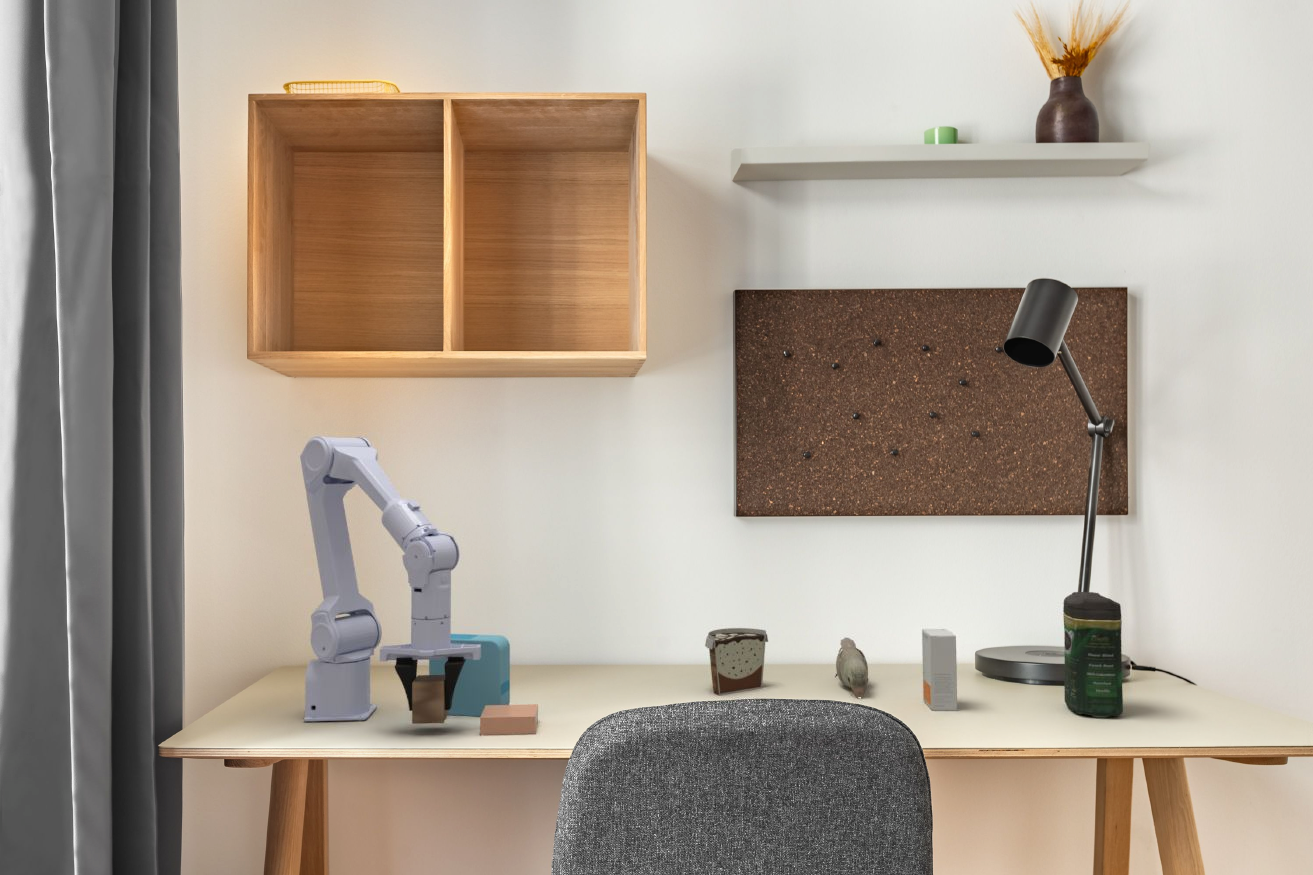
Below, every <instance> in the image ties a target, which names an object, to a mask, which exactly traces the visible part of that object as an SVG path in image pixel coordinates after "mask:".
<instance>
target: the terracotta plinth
mask: <svg viewBox="0 0 1313 875" xmlns="http://www.w3.org/2000/svg"><path fill="white" fill-rule="evenodd" d="M538 722H539V704H537V703H536V704H533V703H532V704H531V703H530V704H529V703H527V704H509V705H486V706H485V708H484V710H483V712H482V715H481V717H479V735H480V736H498V735H499V736H500V735H533V734H534V735H535V734H536V731H537V727H538Z"/></svg>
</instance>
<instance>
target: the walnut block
mask: <svg viewBox="0 0 1313 875" xmlns="http://www.w3.org/2000/svg"><path fill="white" fill-rule="evenodd" d="M445 691H446V684H445V675H429V674H423V675H422V674H419V675H418V674H417V677H416V678H415V680H414V681H413V682H412V711H411V724H413V725H414V724H415V725H417V724H418V725H421V724H422V725H423V724H444V723H445V722H446V720H447V718H448V716H449V715H448V710H445Z"/></svg>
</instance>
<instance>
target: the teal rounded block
mask: <svg viewBox="0 0 1313 875" xmlns="http://www.w3.org/2000/svg"><path fill="white" fill-rule="evenodd" d="M451 643H456V644H481V658H480V659H479V660H472V659H466V661H465V663H464V665H463V668H462V670H461V672H460V675H459V677H458V680H457V683H456V686H455V690H454V694H453V699H452V707H451V709H450V710H448V716H461V717H463V716H464V717H478V718H480V717H481V715H482V712H483V710H484V708H485V706H486V705H510V701H511V697H510V696H511V683H510V680H511V668H510V667H511V657H510V656H511V654H510V653H511V652H510V651H511V649H510V648H511V646H510V645H511V644H510V642H509V640H508V638H507V637H505V636H504V635H498V634H497V635H496V634H465V633H464V634H463V633H451ZM447 661H448V659H436V660H428V669H429V670H428V675H445V667H444V664H445V663H446V662H447Z"/></svg>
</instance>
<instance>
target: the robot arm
mask: <svg viewBox="0 0 1313 875" xmlns="http://www.w3.org/2000/svg"><path fill="white" fill-rule="evenodd" d="M378 454H379V453H378V451H377V449H376V448H374V447H373V445H372V442H370V441H369V440H368V439H367V438H365V437H362V436H357V437H335V436H334V437H331V436H323V435H315V436H313V437H310V439H309V440H308V441H307V443H306V444H305V446H304V448H303V450H302V452H301V454H300V456H299V458H300V464H301V469H302V470H301V471H302V476H303V477H302V478H303V483H304V488H305V491H306V492H305V494H306V501H307V507H308V514H309V519H310V525H311V530H312V537H313V543H314V550H315V554H316V561H317V567H318V572H319V579H320V585H321V590H322V597H323V601H322V602H321V603H320V604H319V605H318V606H317V608H315V610H314V611H313V612H312V613H311V615H310V619H311V633H310V646H311V649H312V651H313V653H314V654H315V656H316V657H318V658H314V659H311V660H310V661H309V662H308V664H307V666H306V672H305V681H304V684H305V685H304V686H305V687H304V690H305V692H304V698H305V699H304V702H305V703H304V704H305V705H304V718H303V721H304V722H325V721H326V722H328V721H331V722H332V721H336V722H337V721H365V720H367V719H368V718H369V717H370V716H371V715H372V713H373V712H374V711H375V710H376V709H377V708H378V704H375V703H373V704H372V703H371V657H372V656H374V655H375V649H377V647H378V646H379V645H380V643H381V639H382V634H383V630H382V625H381V622H380V620H379V618H378V617H377V615H376V612H375V609H374V604H373V602H372V601H371V600H369V599H368V598H366V597H365V596H363V594H361V593H360V591H359V584H358V580H357V574H356V569H355V563H354V562H355V560H354V556H353V550H352V544H351V538H350V532H349V526H348V521H347V515H346V510H345V505H344V498H345V496H346V494H347V493H348V491H350V490H352V489H353V488H354V487H355V486H356V485H357V486H358V487H359V488H360V489H361V490H362V491H363V492H364V493H365V495H367V496H368V497H369V499H371V501H372V502H373V503H374V504H375V505H376V506H377V507H378V508H379V509H380V511H381V512H382V516H381V524H382V526H383V527H384V528H385V530H387V532H388V533H389V535H390V536H391V537H392V538H393V540H394V541H395V542H396V544H397V545H398V546H399V547H400V549H401V550H402V551H403V553H404V554H402V556H401V557H402V563H403V566H404V568H405V570H406V573H407V577H408V578H407V579H408V581H407V582H408V584H409V586H410V587H411V596H410V598H411V602H410V603H411V606H410V607H411V610H410V611H411V613H410V614H411V616H410V621H411V622H410V624H411V625H410V643H409V644H406V643H405V644H394V645H382V646H381V647H380V648H379V662H387V661H395V665H394V669H395V672H396V674H397V676H398V678H399V680H400V682H401V685H402V687H403V689H404V693H405V695H406V699H407V703H408V710H409V712H412V682H413V681H414V680H415V678H416V677H417V676H418V674H417V672H418V662H419V661H420V660H422V661H423V660H424V661H426V660H428V661H429V660H436V659H448V661H447V662H446V663H445V664H444V667H445V684H446V691H445V710H450V709H451V707H452V699H453V694H454V690H455V686H456V683H457V680H458V677H459V675H460V672H461V670H462V668H463V665H464V663H465V661H466V659H472V660H479V659H480V658H481V644H456V643H451V634H452V632H451V630H452V628H451V625H452V623H451V622H452V621H451V619H452V616H451V615H452V613H451V612H452V610H451V608H452V571H454V570H455V569H456V567H457V565H458V564H459V560H460V548H459V545H458V543H457V541H456V540H455V538H454V536H453V535H451V534H449V533H443V532H442V531H441V530H439V529H438V530H437V528H436V526H435V525H434V524H432V523H431V521H430V520H429V519H428V517H427V516H426V515H425V513H424V512H423V510H421V509H420V508H421V505H420V504H419V503H418V501H416V500H415V501H414V500H412V499H410V498H402V497H401V494H399V493H398V490H397V489H396V488H395V487H394V485H393V483H392V481H391V480H390V479H389V477H388V475H386V472H384V470H383V468H382V467H381V465H380V464H379V462H378V459H379V458H378V457H379V456H378ZM340 615H345V616H340ZM337 616H340V617H337Z"/></svg>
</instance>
